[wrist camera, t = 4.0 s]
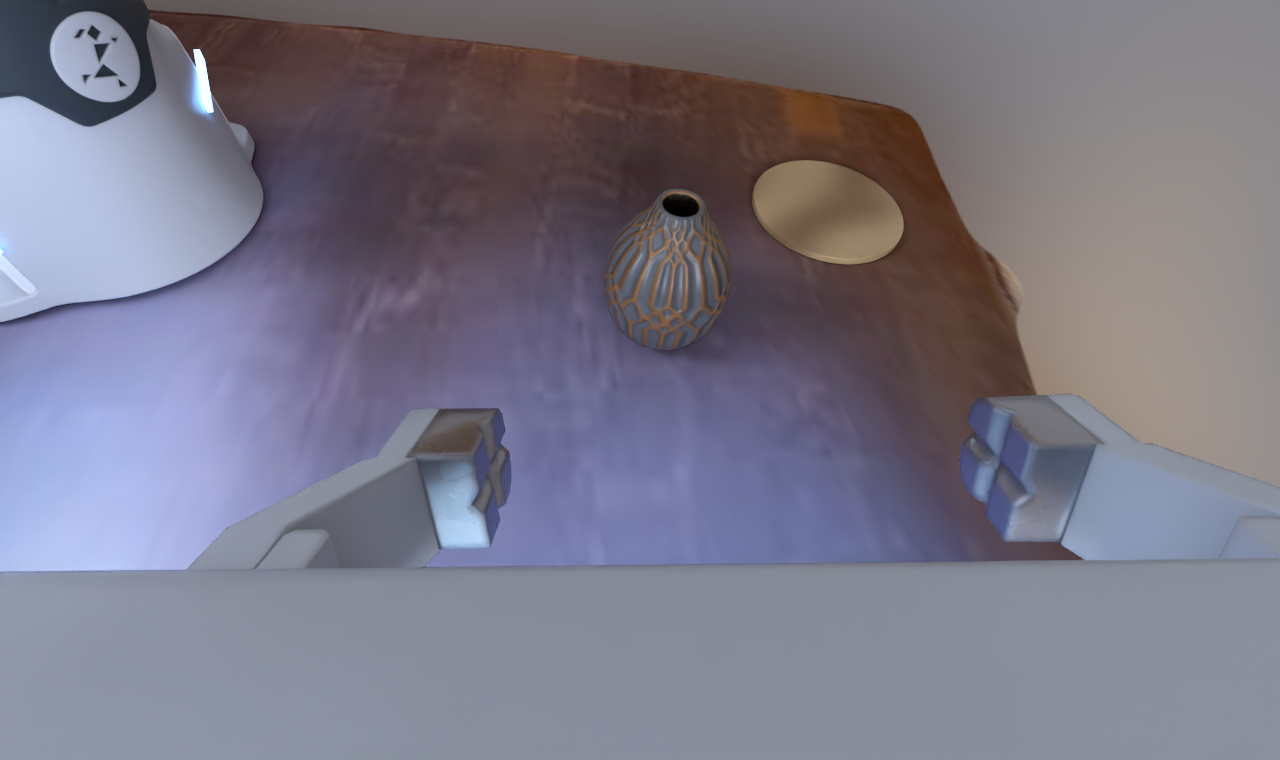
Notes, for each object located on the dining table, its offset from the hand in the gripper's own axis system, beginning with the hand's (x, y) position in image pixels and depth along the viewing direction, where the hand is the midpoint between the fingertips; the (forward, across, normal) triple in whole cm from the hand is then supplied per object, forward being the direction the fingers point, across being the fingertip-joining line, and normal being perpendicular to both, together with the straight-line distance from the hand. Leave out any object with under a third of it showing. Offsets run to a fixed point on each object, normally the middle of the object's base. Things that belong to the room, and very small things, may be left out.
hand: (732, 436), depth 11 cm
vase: (+25, +2, +8) cm, 26 cm away
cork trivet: (+36, -11, +4) cm, 38 cm away
